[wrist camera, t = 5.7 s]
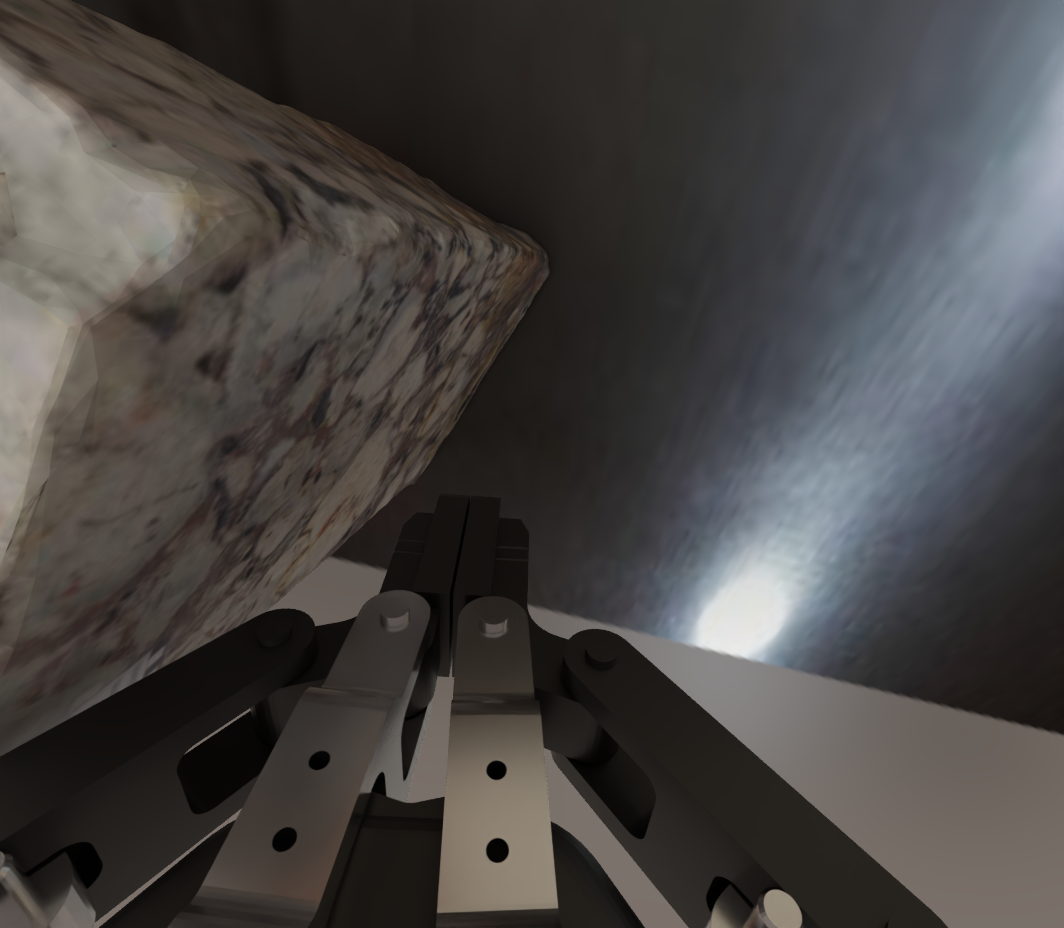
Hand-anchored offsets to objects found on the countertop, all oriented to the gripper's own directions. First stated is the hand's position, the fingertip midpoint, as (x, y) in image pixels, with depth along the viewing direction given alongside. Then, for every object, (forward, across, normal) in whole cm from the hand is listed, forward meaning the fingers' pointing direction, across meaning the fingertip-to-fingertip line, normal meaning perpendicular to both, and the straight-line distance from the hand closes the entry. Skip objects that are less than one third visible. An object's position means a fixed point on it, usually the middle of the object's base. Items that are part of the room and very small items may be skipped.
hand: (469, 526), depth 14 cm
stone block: (+13, +3, 0) cm, 13 cm away
